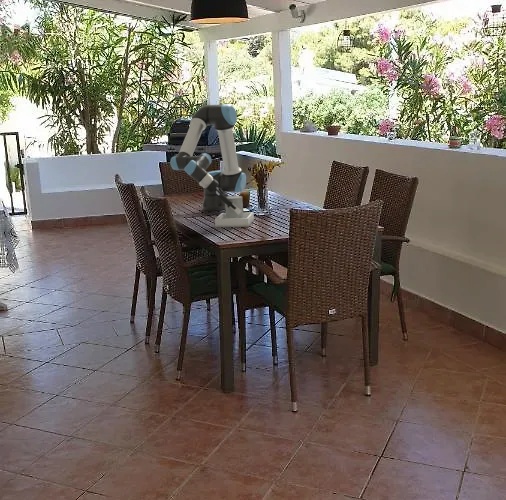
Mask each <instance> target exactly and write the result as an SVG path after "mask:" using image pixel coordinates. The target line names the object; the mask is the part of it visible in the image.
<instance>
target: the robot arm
mask: <svg viewBox="0 0 506 500" xmlns="http://www.w3.org/2000/svg"><path fill="white" fill-rule="evenodd" d="M237 118H238V115H237V111H236V109H235V107H234V106H233V105H232V104H229V103H227V104H225V103H223V104H221V103H220V104H207V105H206V104H205V105H204V106H202V107H200V108H199V109H197V111H195V113H194V114H193V115H192V116H191V120H190V122H189V124H190V125H189V128H188V130H187V133H186V136H185V137H184V139H183V143H182V144H181V147H180V149H179V151H178V154H177V155H175V156H172V157H171V158H170V160H169V161H170V163H169V164H170V167H171V169H172V170H174V171H184V172H185V173H187V175H189V176H190V178H192V179H193V180H194V181H195V182H197V183H198V184H199V187H202V188H203V200H202V205H201V209H202V211H208V212H209V211H210V212H211V211H212V212H214V211H222V210H226V208H225V204H226V205H227V207H228V208H229V207H230V208H231V209H233V210H234V211H235V212H236V213H237V214H238V215H239V214H240V212H241V210H240V209H239V208H238V207H237V206H236V205H235V204H234V203H232V202H231V201H230V200H229V199H228V198H227V196H230V195H228V194H227V193H242V192H243V191H244V190H245V188H246V185H247V174H246V173H245V172H242V168H241V167H239V161H238V155H237V149H236V143H235V138H234V137H235V136H234V132H233V131H234V130H233V129H234V128H235V125H236V123H237V121H238V119H237ZM207 126H214V130H215V131H217V135H218V138H219V139H218V140H219V147H220V151H221V158H222V165H223V170H212V171H208V172H207V171H206V170H208V168H209V167H210V165H211V163H212V157H211V155H210V154H208V153H206V152H202V153H201V154H199V155H194V152H195V149H196V148H197V145H198V142H199V140H200V138H201V135H202V133H203V131H205V129H206V128H207Z"/></svg>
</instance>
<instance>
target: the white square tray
mask: <svg viewBox="0 0 506 500" xmlns="http://www.w3.org/2000/svg"><path fill="white" fill-rule="evenodd" d="M254 215H255V214H254V212H252V211H251V212H248V211H247V212H243V218H226V212H221V213H220V214H219V215H218V216H217V217H216V218H215V219H214V222H215V223H214V225H215V228H241V227H242V228H243V227H245V228H248V227H250V225H251V224H252V223H253V222H254V221H255V220H254V219H255V216H254Z"/></svg>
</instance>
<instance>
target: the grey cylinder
mask: <svg viewBox="0 0 506 500" xmlns="http://www.w3.org/2000/svg"><path fill="white" fill-rule="evenodd" d="M227 198H228V199H229V200H230V201H231V202H232V203H234V204H235V205H236V206H237V207H238V208H239V209H240V210H241V212H240V214H239V215H238V214H237V213H236V212H235V211H234V210H233V209H231V208H230V207H229V208H228V207H227V205H226V204H225V208H226V209H225V213H226V218H243V213H244V207H243V206H244V205H243V196H242V195H229V196H227Z"/></svg>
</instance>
